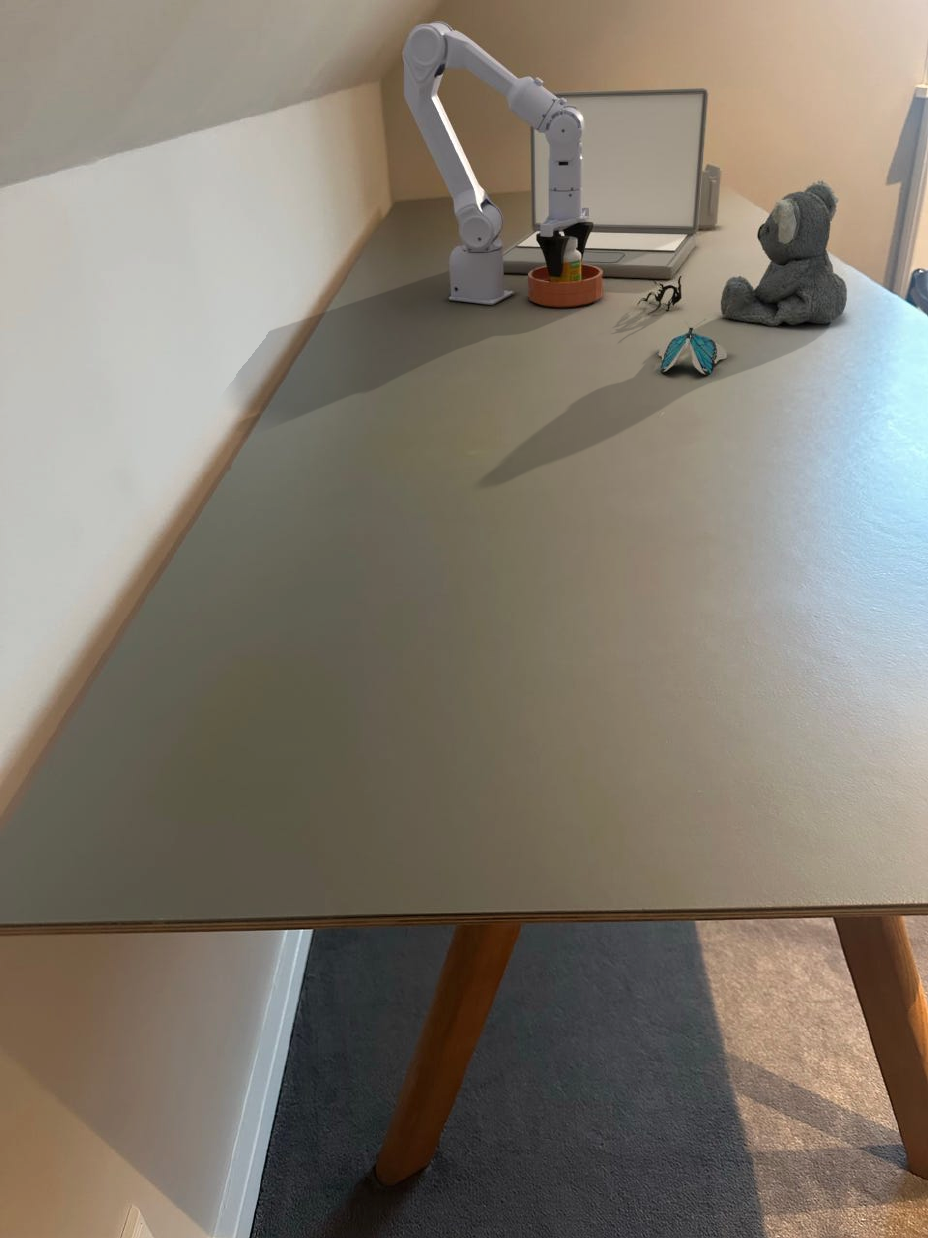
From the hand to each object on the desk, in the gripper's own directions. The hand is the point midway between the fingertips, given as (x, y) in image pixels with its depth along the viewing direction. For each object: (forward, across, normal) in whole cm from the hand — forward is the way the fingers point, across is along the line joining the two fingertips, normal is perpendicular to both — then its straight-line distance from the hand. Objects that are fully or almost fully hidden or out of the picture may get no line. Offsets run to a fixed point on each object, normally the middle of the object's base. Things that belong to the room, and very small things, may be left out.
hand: (565, 270), depth 167 cm
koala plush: (+5, +4, -39) cm, 40 cm away
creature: (+5, 0, -18) cm, 19 cm away
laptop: (+5, +27, +7) cm, 29 cm away
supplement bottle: (+4, 0, 0) cm, 5 cm away
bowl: (+5, 0, 0) cm, 5 cm away
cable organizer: (+5, +63, -1) cm, 63 cm away
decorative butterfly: (+5, -25, -33) cm, 42 cm away
